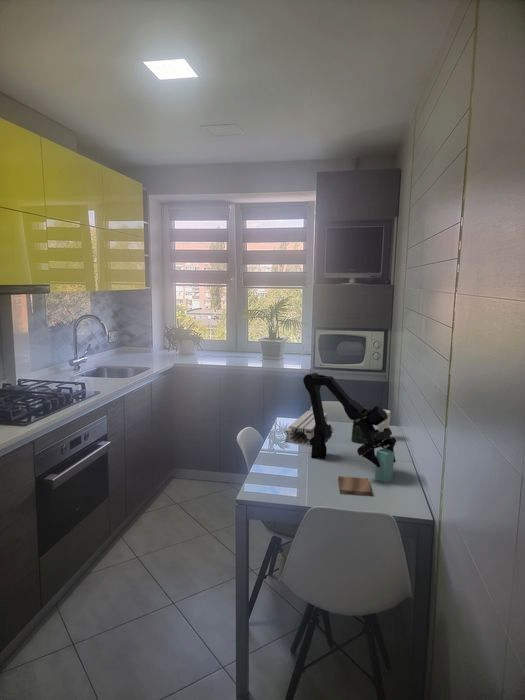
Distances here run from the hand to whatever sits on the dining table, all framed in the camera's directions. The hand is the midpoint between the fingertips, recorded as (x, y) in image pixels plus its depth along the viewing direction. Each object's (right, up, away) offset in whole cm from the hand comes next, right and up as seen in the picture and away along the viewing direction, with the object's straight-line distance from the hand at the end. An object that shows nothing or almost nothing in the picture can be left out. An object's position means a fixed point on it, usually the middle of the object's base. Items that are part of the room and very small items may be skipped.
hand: (387, 464), depth 176 cm
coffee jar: (-1, 0, +46) cm, 46 cm away
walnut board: (-15, -7, -6) cm, 18 cm away
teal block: (-1, -7, +2) cm, 7 cm away
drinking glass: (+12, 0, +50) cm, 52 cm away
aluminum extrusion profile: (-28, +1, +53) cm, 60 cm away
